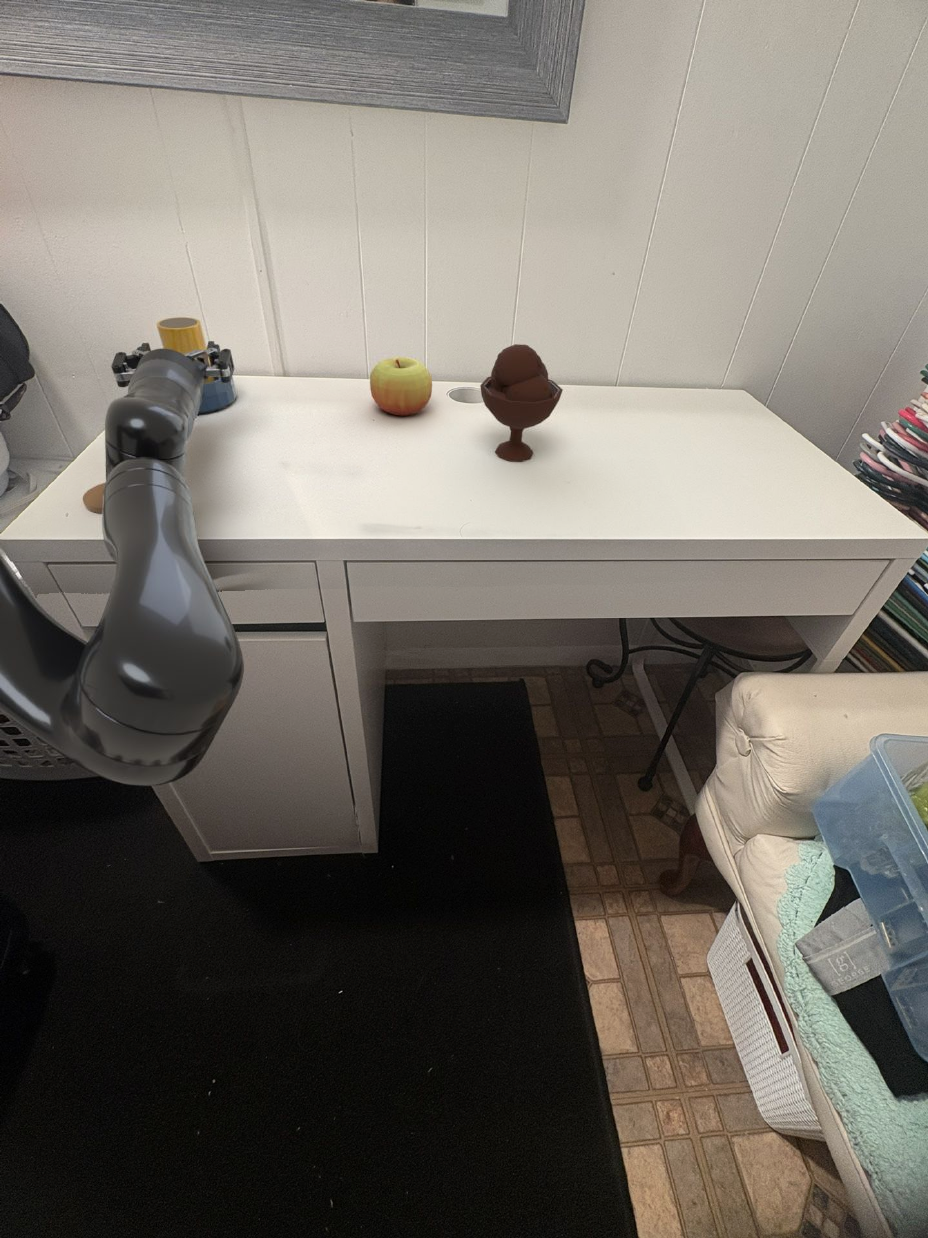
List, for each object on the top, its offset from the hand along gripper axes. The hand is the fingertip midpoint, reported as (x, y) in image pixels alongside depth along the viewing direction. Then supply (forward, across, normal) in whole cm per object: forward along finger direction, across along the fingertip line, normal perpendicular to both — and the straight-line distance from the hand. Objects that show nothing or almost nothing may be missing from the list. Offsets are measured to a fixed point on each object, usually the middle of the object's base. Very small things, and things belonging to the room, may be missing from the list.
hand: (180, 349), depth 80 cm
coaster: (-23, +8, +10) cm, 26 cm away
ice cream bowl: (-19, -44, +10) cm, 49 cm away
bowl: (+6, 0, +10) cm, 12 cm away
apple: (-1, -31, +10) cm, 33 cm away
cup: (+6, 0, +9) cm, 11 cm away
